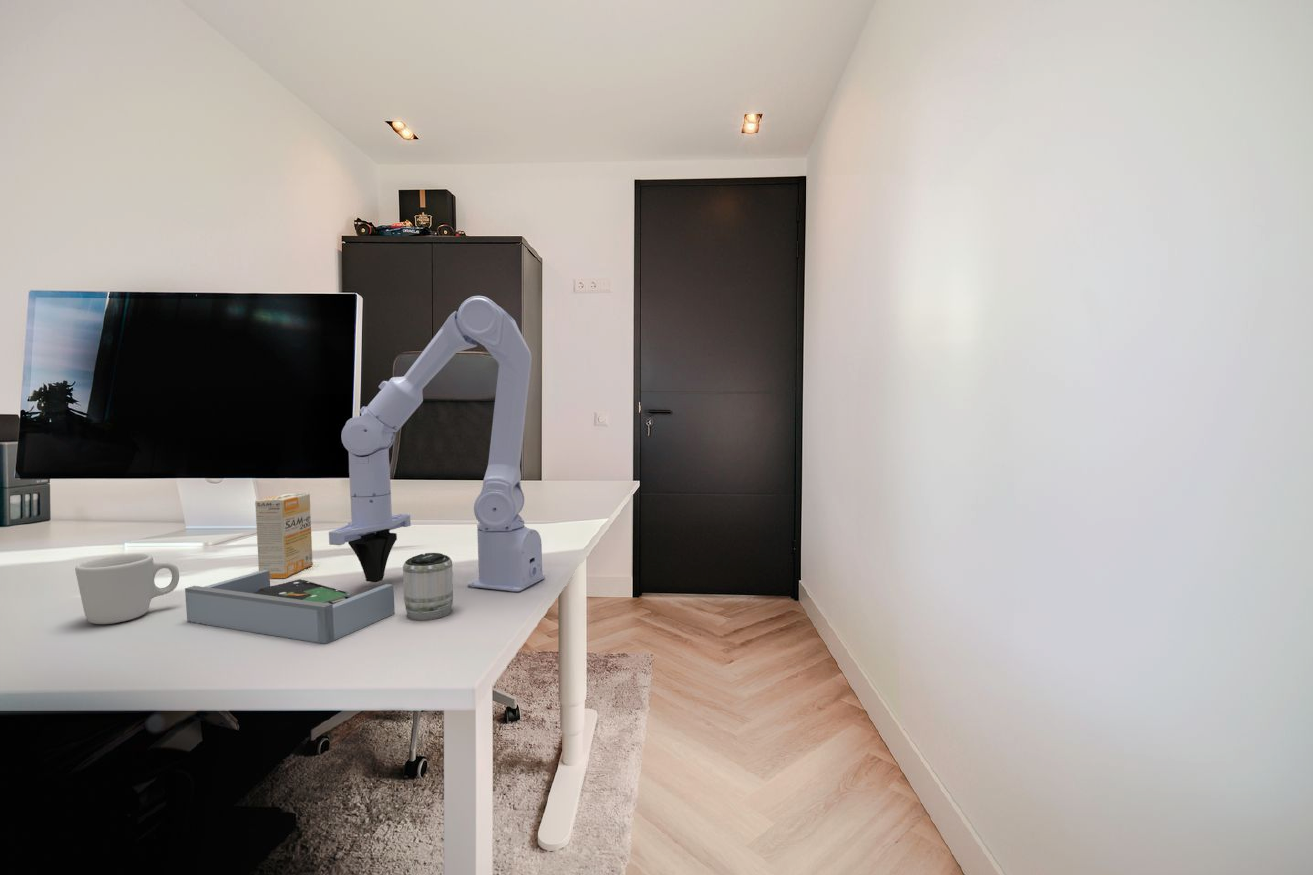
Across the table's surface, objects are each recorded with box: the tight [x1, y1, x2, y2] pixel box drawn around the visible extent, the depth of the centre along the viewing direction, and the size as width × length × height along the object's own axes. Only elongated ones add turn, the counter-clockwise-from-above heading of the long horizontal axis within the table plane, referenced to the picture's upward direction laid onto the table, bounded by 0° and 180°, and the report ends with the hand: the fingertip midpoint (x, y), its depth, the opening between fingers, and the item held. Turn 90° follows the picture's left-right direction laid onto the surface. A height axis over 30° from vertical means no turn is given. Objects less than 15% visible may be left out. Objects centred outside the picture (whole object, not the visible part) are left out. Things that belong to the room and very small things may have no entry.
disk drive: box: [253, 579, 353, 604], centre depth 88 cm, size 10×3×15 cm
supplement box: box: [254, 492, 313, 579], centre depth 108 cm, size 8×5×13 cm, turn 179°
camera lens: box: [402, 552, 454, 621], centre depth 86 cm, size 6×6×8 cm
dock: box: [184, 570, 396, 645], centre depth 85 cm, size 24×11×4 cm, turn 70°
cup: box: [74, 553, 180, 625], centre depth 87 cm, size 11×8×8 cm
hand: (374, 580), depth 99 cm, fingers closed
